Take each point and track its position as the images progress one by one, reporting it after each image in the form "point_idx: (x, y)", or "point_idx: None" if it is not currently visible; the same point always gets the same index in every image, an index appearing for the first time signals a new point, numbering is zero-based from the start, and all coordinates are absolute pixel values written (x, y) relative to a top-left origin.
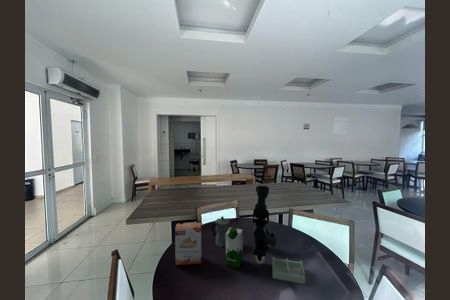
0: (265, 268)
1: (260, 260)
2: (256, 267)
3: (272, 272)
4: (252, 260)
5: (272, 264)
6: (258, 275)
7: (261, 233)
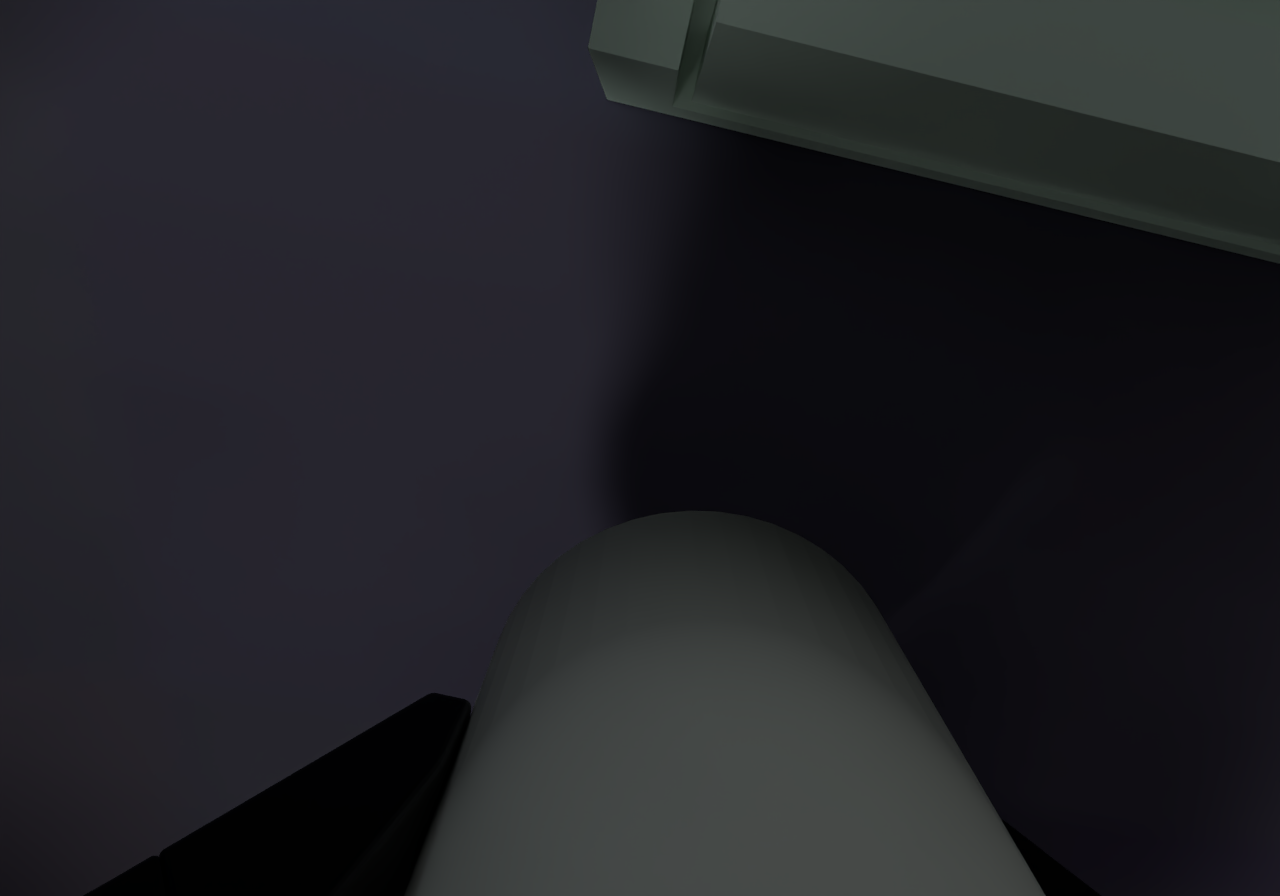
0: (896, 459)
1: None
2: None
3: (1263, 251)
4: None
5: (770, 124)
6: (1217, 759)
7: None
